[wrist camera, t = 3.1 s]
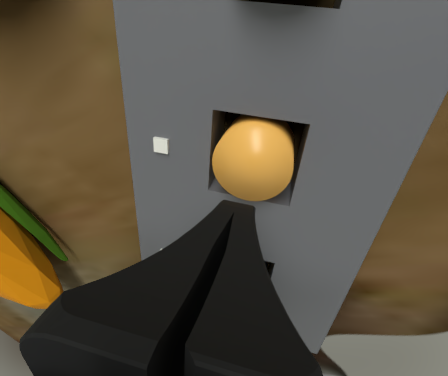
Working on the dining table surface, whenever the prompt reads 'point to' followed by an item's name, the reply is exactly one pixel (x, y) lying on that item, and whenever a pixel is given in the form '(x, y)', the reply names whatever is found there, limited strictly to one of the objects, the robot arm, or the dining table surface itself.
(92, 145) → the dining table surface
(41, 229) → the corn
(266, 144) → the orange button
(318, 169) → the button console
